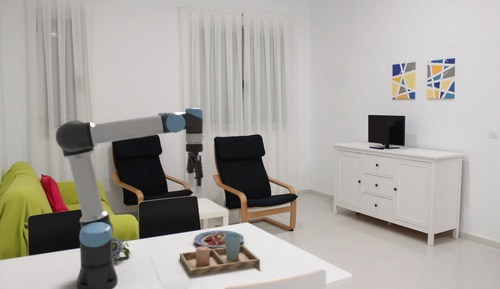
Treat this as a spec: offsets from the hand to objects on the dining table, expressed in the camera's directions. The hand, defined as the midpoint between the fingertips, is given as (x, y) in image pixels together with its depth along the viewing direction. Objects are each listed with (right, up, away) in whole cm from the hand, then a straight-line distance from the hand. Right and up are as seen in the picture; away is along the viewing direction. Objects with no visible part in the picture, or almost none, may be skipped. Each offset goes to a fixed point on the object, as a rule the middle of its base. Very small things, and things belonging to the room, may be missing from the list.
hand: (194, 190), depth 182 cm
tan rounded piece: (+4, -32, -3) cm, 33 cm away
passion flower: (-37, -32, +6) cm, 50 cm away
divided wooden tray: (+11, -33, 0) cm, 35 cm away
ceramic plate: (+9, -31, +29) cm, 43 cm away
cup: (+17, -32, +5) cm, 36 cm away
